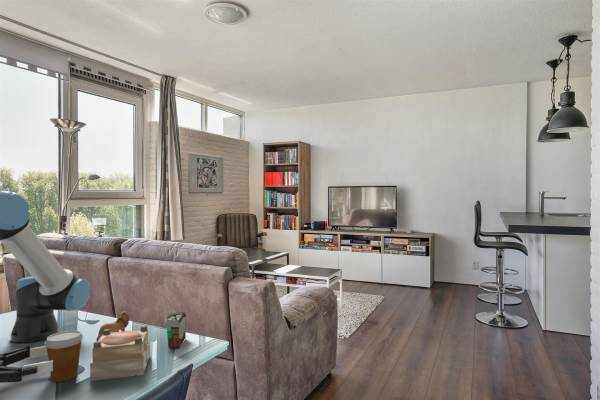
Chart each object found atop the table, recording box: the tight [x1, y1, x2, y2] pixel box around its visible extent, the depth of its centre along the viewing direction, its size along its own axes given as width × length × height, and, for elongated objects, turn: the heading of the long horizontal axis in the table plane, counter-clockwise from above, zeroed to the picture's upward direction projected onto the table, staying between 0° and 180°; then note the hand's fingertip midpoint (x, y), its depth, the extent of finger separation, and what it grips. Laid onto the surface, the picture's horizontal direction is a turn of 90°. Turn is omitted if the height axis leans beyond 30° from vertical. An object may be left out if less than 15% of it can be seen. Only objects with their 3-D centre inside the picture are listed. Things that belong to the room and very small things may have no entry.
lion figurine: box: [95, 310, 130, 342], centre depth 138 cm, size 15×5×9 cm, turn 163°
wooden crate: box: [89, 325, 151, 382], centre depth 114 cm, size 14×14×10 cm
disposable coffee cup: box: [44, 330, 84, 383], centre depth 108 cm, size 10×10×12 cm
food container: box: [163, 310, 187, 350], centre depth 133 cm, size 12×6×10 cm, turn 5°
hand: (54, 356), depth 106 cm, fingers open, 13 cm apart
